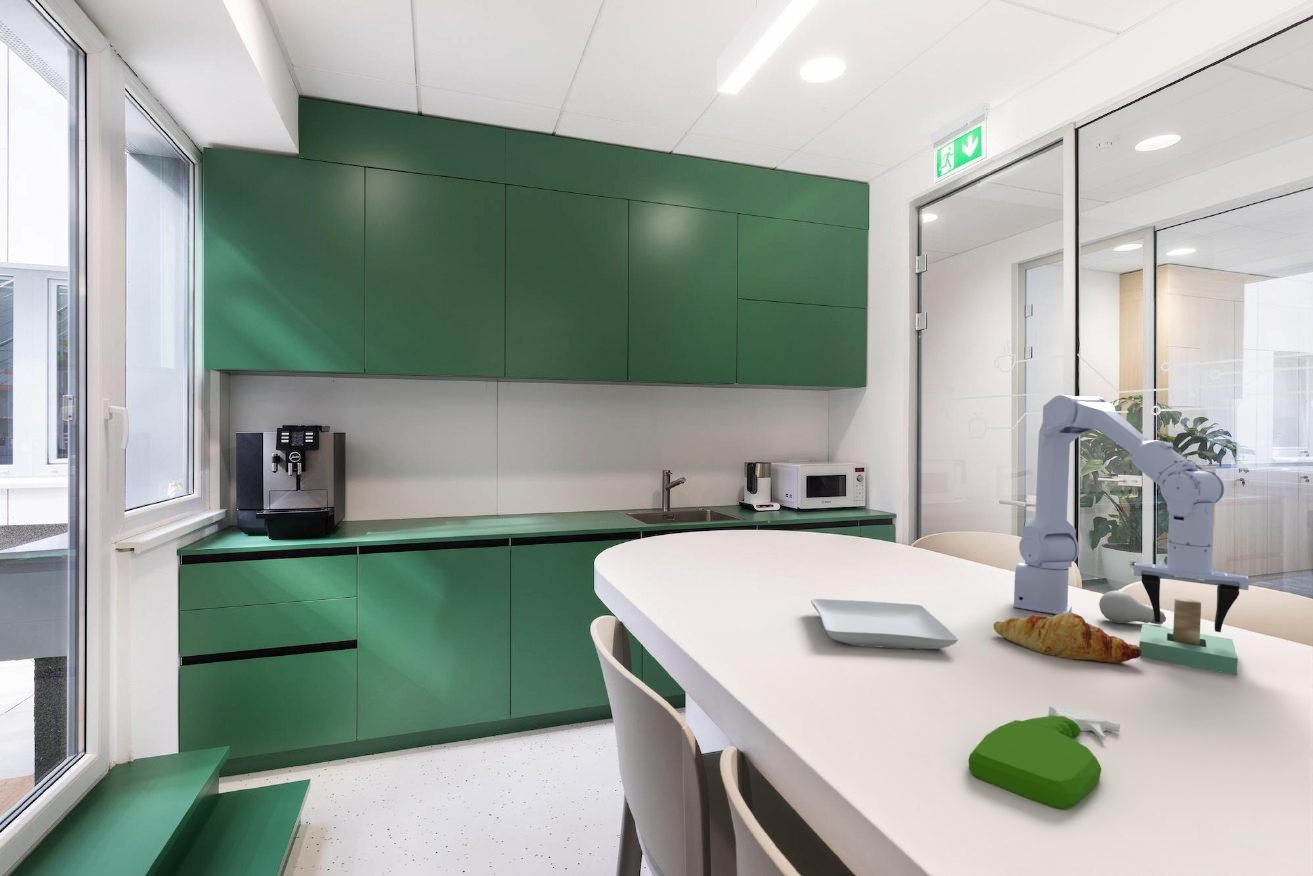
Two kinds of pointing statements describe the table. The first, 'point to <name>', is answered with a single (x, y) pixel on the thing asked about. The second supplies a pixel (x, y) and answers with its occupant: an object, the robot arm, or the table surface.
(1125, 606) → the lightbulb
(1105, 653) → the croissant
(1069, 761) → the spray bottle
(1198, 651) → the socket block
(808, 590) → the table surface
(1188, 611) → the dowel
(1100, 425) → the robot arm
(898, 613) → the salad plate
